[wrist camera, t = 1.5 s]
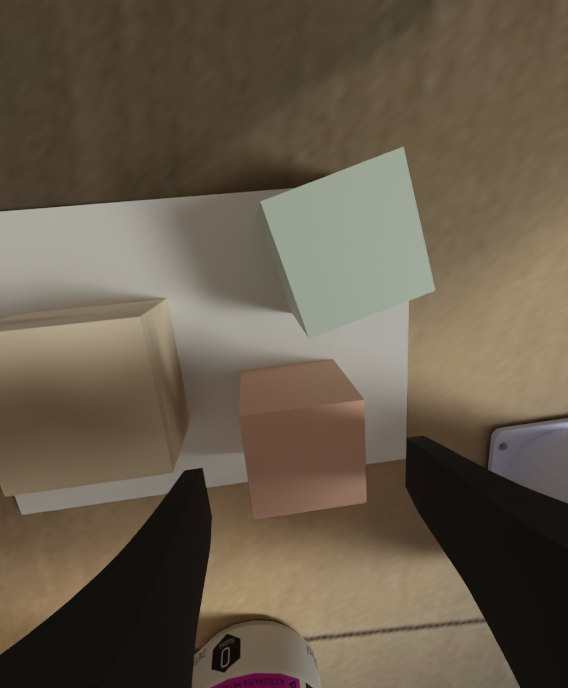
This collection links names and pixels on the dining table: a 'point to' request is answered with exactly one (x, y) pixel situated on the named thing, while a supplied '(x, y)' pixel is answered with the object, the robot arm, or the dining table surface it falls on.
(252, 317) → the mat
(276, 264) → the sage block
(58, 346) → the birch base block
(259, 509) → the terracotta block
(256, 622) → the supplement can
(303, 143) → the dining table surface
